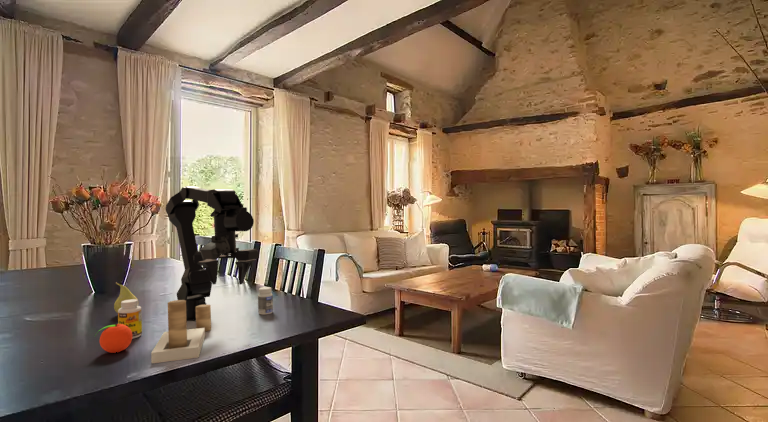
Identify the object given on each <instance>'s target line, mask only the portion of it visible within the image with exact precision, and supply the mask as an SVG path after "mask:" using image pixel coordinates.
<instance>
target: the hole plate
mask: <svg viewBox="0 0 768 422" xmlns="http://www.w3.org/2000/svg"><path fill="white" fill-rule="evenodd" d="M205 337H206V332H205V328H196V327H195V328H189V329H188V328H187V347H182V348H173V349H169V334H168V331H164V332H163V333H162V335H161V337H160V338H159V340H158V341H157V343H156V344H155V346H154V348H153V349H152V351H151V353H150V354H151V355H150V357H151V364H158V363H165V362H174V361H182V360H189V359H196V358H199V357H200V355H201V351H202V348H203V344H204V341H205Z"/></svg>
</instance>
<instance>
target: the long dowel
mask: <svg viewBox="0 0 768 422" xmlns="http://www.w3.org/2000/svg"><path fill="white" fill-rule="evenodd" d="M167 318H168V319H167V326H168V327H167V328H168V329H167V332H168V334H169V349H173V348H182V347H187V329H188V328H187V327H188V325H187V321H188V320H186V300H178V299H176V300H175V299H174V300H171V301H168V302H167Z"/></svg>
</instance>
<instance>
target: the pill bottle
mask: <svg viewBox="0 0 768 422" xmlns="http://www.w3.org/2000/svg"><path fill="white" fill-rule="evenodd" d="M258 293H259V294H258V295H257V308H258V309H257V311H258V312H257V313H258V315H271V314H272V313H273V312H274V305H273V303H274V300H273V298H274V297H273V293H272V287H270V286H264V287H259V289H258Z"/></svg>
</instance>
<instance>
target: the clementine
mask: <svg viewBox="0 0 768 422" xmlns="http://www.w3.org/2000/svg"><path fill="white" fill-rule="evenodd" d="M103 329H104V330H103ZM102 330H103V331H102ZM99 331H102V332H101V334H100V335H99V345H100V347H101V349H102V350H104V351H105V352H108V353H111V354H113V353H114V354H116V352H117V353H120V352H122V351H124V350H126V349H127V348H128V347H129V346H130V345H131V343H132V340H133V339H132V331H131V329H130V328H129V327H127V326H126V325H123V324H118V323H115V324H109V325H106V326H104V327H102V328H101V329H98V331H97V332H96V333H95V336H94V337H96V335H97V334H98V333H99Z"/></svg>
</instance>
